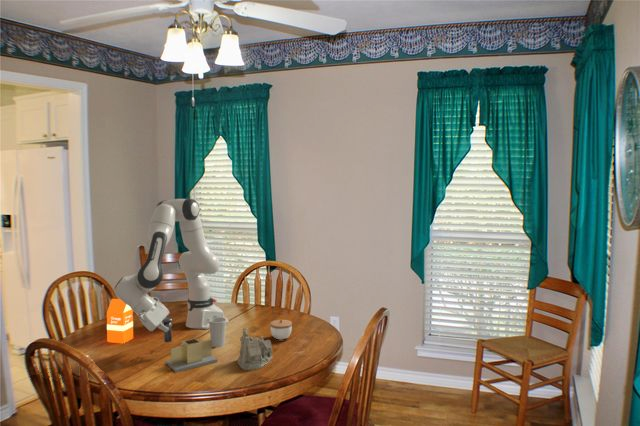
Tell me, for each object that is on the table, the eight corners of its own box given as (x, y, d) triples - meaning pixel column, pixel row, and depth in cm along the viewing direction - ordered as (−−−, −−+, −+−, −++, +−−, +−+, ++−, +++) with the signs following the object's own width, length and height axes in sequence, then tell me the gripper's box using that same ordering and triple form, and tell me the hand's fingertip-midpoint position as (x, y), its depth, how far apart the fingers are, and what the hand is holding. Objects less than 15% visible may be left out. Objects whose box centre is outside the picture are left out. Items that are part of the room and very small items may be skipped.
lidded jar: (265, 339, 223) (265, 320, 222) (277, 333, 232) (278, 315, 232) (284, 343, 218) (284, 324, 217) (296, 336, 227) (296, 318, 227)
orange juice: (123, 343, 215) (122, 302, 213) (107, 342, 217) (106, 300, 215) (133, 338, 223) (132, 297, 221) (117, 336, 224) (116, 296, 223)
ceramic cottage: (240, 371, 186) (242, 334, 185) (235, 357, 201) (237, 323, 201) (277, 369, 190) (279, 333, 190) (270, 356, 206) (272, 323, 206)
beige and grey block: (208, 352, 202) (208, 335, 201) (214, 357, 197) (214, 339, 196) (168, 362, 191) (168, 343, 190) (174, 367, 186) (173, 348, 185)
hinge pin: (170, 338, 203) (170, 316, 202) (174, 341, 200) (173, 319, 199) (161, 340, 201) (161, 318, 200) (165, 343, 198) (164, 321, 197)
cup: (211, 348, 210) (211, 323, 209) (207, 343, 217) (207, 318, 216) (228, 346, 213) (228, 321, 213) (223, 340, 220) (223, 316, 220)
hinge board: (206, 353, 204) (206, 351, 204) (217, 361, 195) (217, 359, 195) (166, 363, 193) (166, 360, 193) (175, 372, 184) (175, 369, 184)
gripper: (142, 309, 188) (167, 332, 189) (157, 296, 208) (180, 316, 210) (132, 320, 188) (156, 342, 190) (148, 305, 209) (170, 326, 210)
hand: (169, 329), depth 200 cm, fingers closed on hinge pin, 3 cm apart
